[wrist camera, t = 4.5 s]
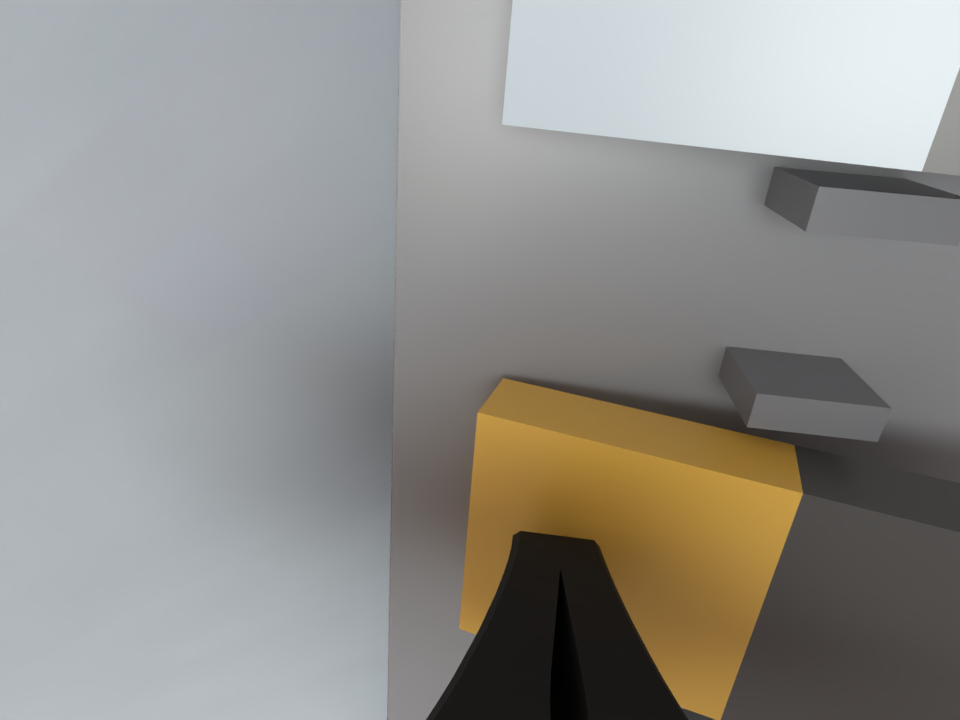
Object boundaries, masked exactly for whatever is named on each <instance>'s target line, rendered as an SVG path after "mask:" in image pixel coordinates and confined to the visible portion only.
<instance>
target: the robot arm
mask: <svg viewBox="0 0 960 720" xmlns="http://www.w3.org/2000/svg"><path fill="white" fill-rule="evenodd" d="M426 720H688V718H687V717H686V715H685V713H684V712H683V710H682V709H681V707H680V705H679V704H678V702H677V700H676V699H675V697H674V695H673V694H672V692H671V690H670V689H669V687H668V685H667V684H666V682H665V680H664V679H663V677H662V675H661V673H660V672H659V670H658V668H657V666H656V665H655V663H654V661H653V659H652V657H651V656H650V654H649V652H648V650H647V648H646V646H645V644H644V642H643V641H642V639H641V637H640V635H639V633H638V631H637V629H636V627H635V625H634V624H633V622H632V620H631V618H630V615H629V613H628V611H627V609H626V607H625V605H624V603H623V601H622V599H621V597H620V595H619V592H618V590H617V588H616V586H615V584H614V581H613V579H612V577H611V574H610V572H609V570H608V567H607V565H606V562H605V560H604V557H603V555H602V552H601V549H600V546H599V545H598V544H597V543H596V542H595V540H590V539H582V538H574V537H566V536H558V535H550V534H542V533H534V532H527V531H519V532H518V533H516V534H514V535H513V538H512V546H511V550H510V554H509V558H508V562H507V565H506V568H505V571H504V574H503V576H502V579H501V581H500V584H499V587H498V589H497V592H496V594H495V596H494V598H493V600H492V603H491V605H490V607H489V609H488V611H487V613H486V616H485V618H484V620H483V622H482V624H481V626H480V628H479V630H478V632H477V634H476V636H475V638H474V640H473V642H472V643H471V645H470V647H469V649H468V651H467V652H466V654H465V656H464V658H463V660H462V662H461V663H460V665H459V667H458V669H457V671H456V672H455V674H454V676H453V678H452V679H451V681H450V682H449V684H448V686H447V687H446V689H445V691H444V692H443V694H442V696H441V697H440V699H439V700H438V702H437V703H436V705H435V707H434V708H433V710H432V711H431V713H430V714H429V716H428V717H427V719H426Z"/></svg>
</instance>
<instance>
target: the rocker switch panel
mask: <svg viewBox="0 0 960 720" xmlns="http://www.w3.org/2000/svg"><path fill="white" fill-rule="evenodd" d="M512 1H513V0H401V13H400V66H399V119H398V172H397V226H396V279H395V332H394V385H393V438H392V491H391V545H390V598H389V651H388V704H387V720H426V719H427V717H428V716H429V714H430V713H431V711H432V710H433V708H434V707H435V705H436V703H437V702H438V700H439V699H440V697H441V696H442V694H443V692H444V691H445V689H446V687H447V686H448V684H449V682H450V681H451V679H452V678H453V676H454V674H455V672H456V671H457V669H458V667H459V665H460V663H461V662H462V660H463V658H464V656H465V654H466V652H467V651H468V649H469V647H470V645H471V643H472V642H473V640H474V638H475V636H476V635H475V634H473V633H470V632H467V631H464V630H461V629H459V623H460V611H461V599H462V588H463V576H464V564H465V552H466V541H467V529H468V517H469V506H470V494H471V482H472V470H473V459H474V447H475V435H476V423H477V412H478V411H479V410H480V408H481V407H482V406H483V404H484V403H485V402H486V400H487V399H488V398H489V396H490V395H491V394H492V392H493V391H494V390H495V389H496V387H497V386H498V385H499V383H500V382H501V381H502V379H503V378H505V379H510V380H514V381H518V382H523V383H527V384H531V385H536V386H540V387H544V388H549V389H553V390H557V391H562V392H566V393H570V394H575V395H579V396H583V397H588V398H592V399H596V400H601V401H605V402H609V403H614V404H618V405H622V406H627V407H631V408H635V409H640V410H644V411H649V412H653V413H657V414H662V415H666V416H670V417H675V418H679V419H683V420H688V421H692V422H696V423H701V424H705V425H709V426H714V427H718V428H722V429H727V430H731V431H735V432H740V433H744V434H748V435H753V436H757V437H761V438H766V439H770V440H774V441H779V442H783V443H787V444H792V445H796V446H800V447H805V448H809V449H813V450H818V451H822V452H826V453H831V454H835V455H839V456H844V457H848V458H852V459H857V460H861V461H866V462H870V463H874V464H879V465H883V466H887V467H892V468H896V469H900V470H905V471H909V472H913V473H918V474H922V475H926V476H931V477H935V478H939V479H944V480H948V481H952V482H957V483H960V176H957V175H948V174H939V173H930V172H921V171H912V170H903V169H894V168H885V167H876V166H867V165H858V164H849V163H840V162H831V161H823V160H814V159H805V158H796V157H787V156H778V155H769V154H760V153H751V152H742V151H733V150H724V149H715V148H706V147H697V146H688V145H679V144H670V143H661V142H653V141H644V140H635V139H626V138H617V137H608V136H599V135H590V134H581V133H572V132H563V131H554V130H545V129H536V128H527V127H518V126H509V125H502V119H503V107H504V95H505V83H506V72H507V60H508V48H509V36H510V25H511V13H512ZM681 709H682V710H683V712H684V713H685V715H686V717H687V718H688V720H715V719H712V718H710V717H707V716H704V715H701V714H698V713H696V712H693V711H690V710H687V709H684V708H681Z"/></svg>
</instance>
